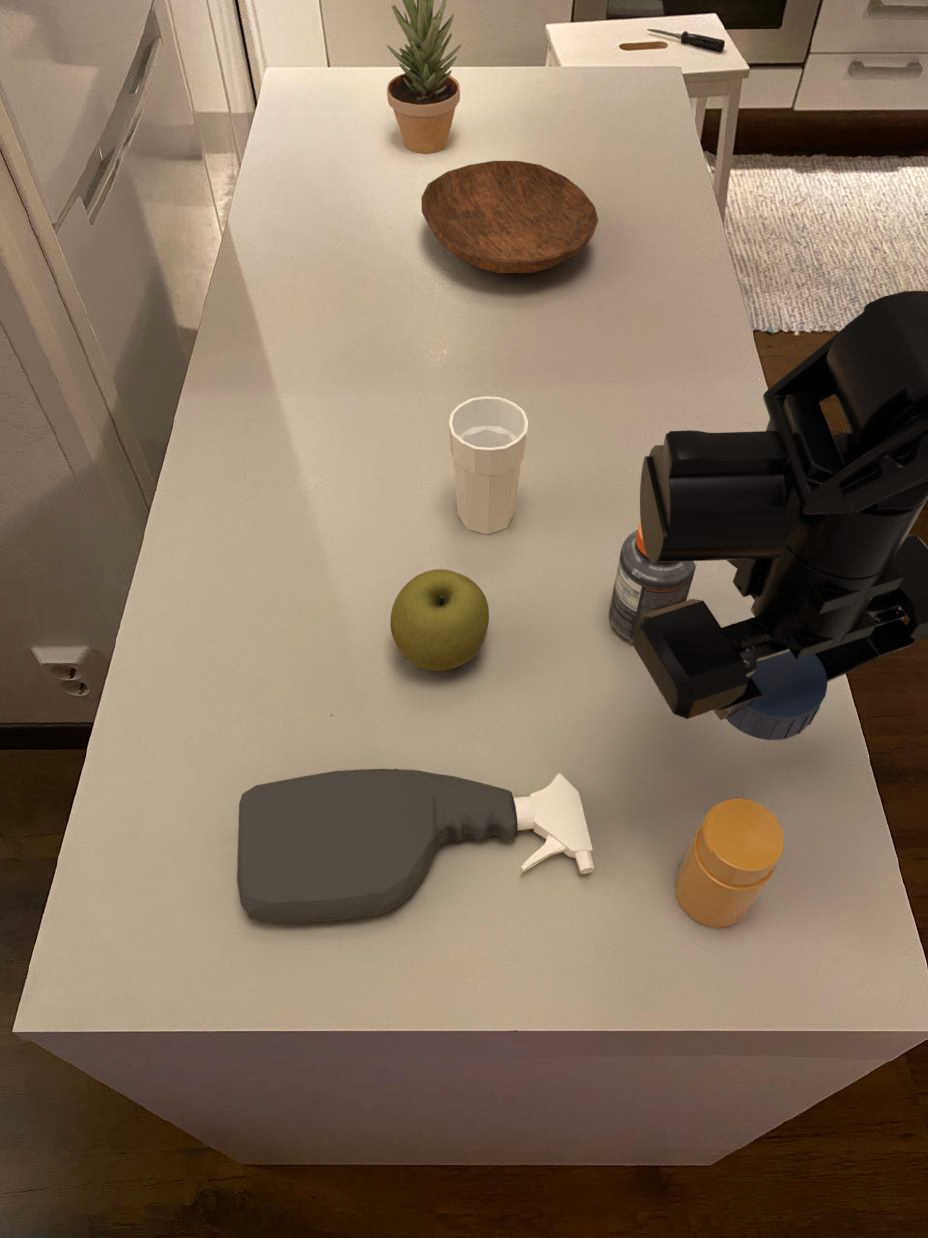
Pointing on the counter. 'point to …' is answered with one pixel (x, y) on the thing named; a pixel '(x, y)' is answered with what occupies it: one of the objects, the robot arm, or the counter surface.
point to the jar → (729, 862)
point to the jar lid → (783, 697)
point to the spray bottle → (380, 837)
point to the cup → (487, 460)
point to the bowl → (509, 215)
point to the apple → (439, 620)
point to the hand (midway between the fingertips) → (763, 697)
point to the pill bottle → (645, 585)
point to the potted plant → (424, 79)
